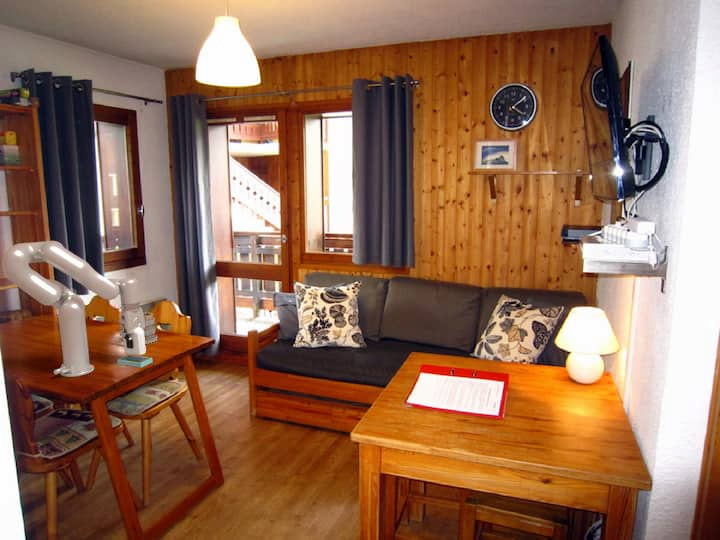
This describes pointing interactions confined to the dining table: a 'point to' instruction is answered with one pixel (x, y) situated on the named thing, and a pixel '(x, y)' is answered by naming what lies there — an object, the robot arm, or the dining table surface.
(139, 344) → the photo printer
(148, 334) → the tankard
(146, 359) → the slot frame
